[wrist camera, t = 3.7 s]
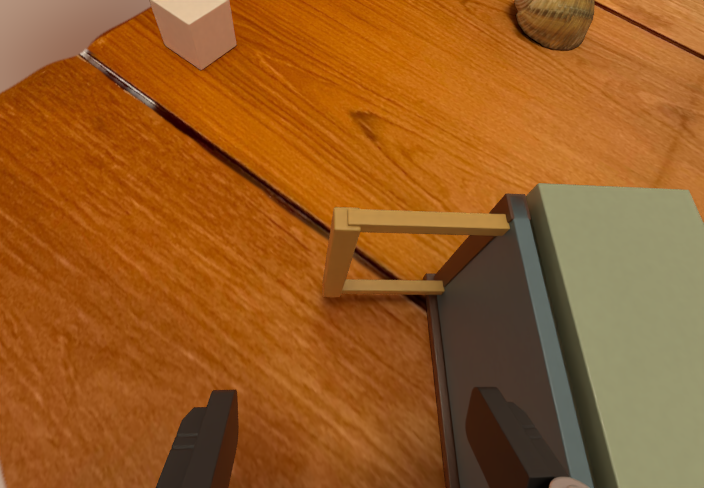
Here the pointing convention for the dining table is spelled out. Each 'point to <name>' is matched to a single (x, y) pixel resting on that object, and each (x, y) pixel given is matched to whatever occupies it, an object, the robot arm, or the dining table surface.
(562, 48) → the seashell
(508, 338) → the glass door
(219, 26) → the block
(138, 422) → the dining table surface
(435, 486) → the dining table surface
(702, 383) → the cabinet
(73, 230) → the dining table surface
